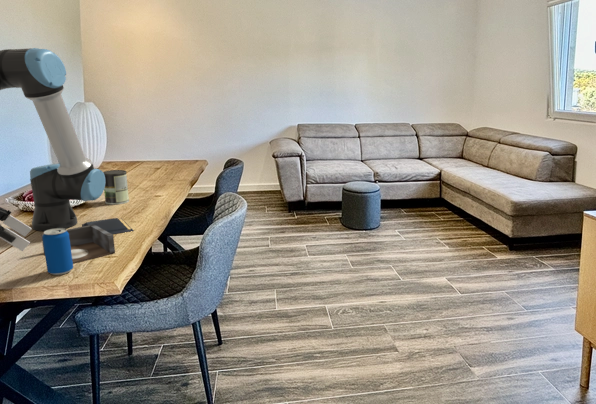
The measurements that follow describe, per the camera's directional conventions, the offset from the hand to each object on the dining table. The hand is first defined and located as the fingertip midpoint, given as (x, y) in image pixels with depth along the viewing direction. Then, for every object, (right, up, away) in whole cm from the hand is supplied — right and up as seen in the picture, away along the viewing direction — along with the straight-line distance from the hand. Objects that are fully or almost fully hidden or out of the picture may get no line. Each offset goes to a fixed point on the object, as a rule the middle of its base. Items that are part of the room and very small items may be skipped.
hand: (27, 239), depth 119 cm
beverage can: (+6, -10, +6) cm, 13 cm away
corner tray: (+4, -6, +21) cm, 22 cm away
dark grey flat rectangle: (+1, 0, +47) cm, 47 cm away
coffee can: (-11, +10, +86) cm, 87 cm away
